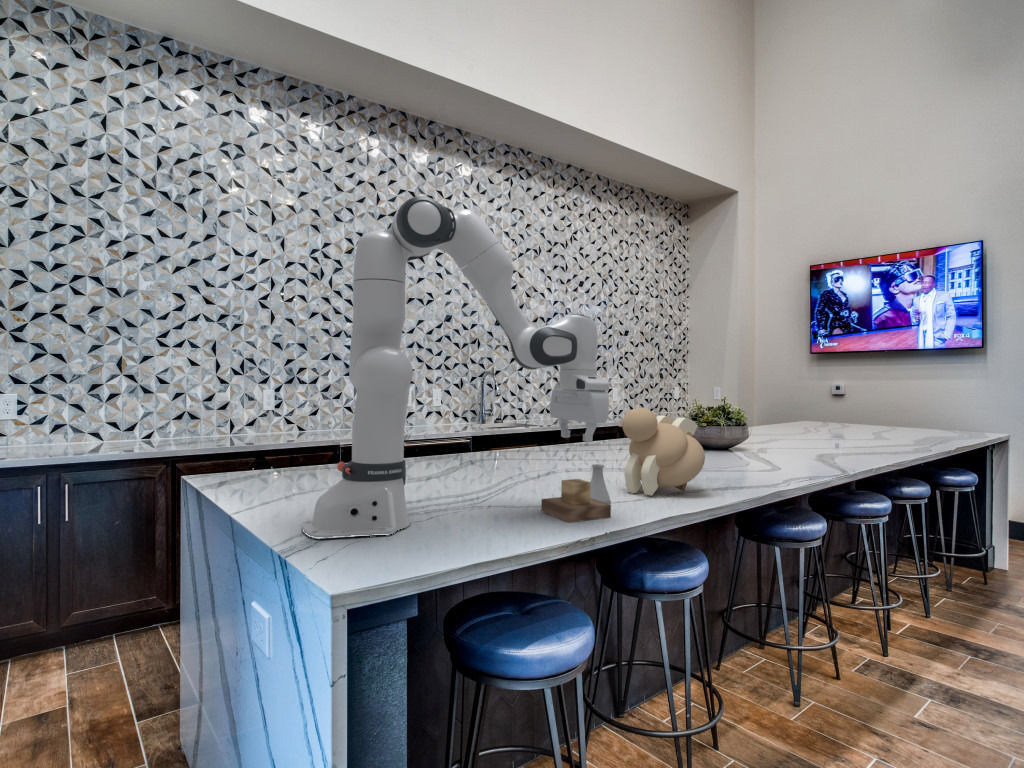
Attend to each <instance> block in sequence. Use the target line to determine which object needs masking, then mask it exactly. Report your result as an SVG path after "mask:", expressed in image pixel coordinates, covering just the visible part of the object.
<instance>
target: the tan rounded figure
mask: <svg viewBox="0 0 1024 768" xmlns="http://www.w3.org/2000/svg"><path fill="white" fill-rule="evenodd" d="M623 414H624V418H622V417H621V418H620V417H619V418H618V420H617V426H618V427H620V428H621V427H622V430H623V431H622V432H624V435H625V436H626V437H627V438H628V439H629V440H630V443H629V446H628V451H629V455H630V456H629V458H628V460H627V461H626V464H625V468H624V481H625V487H626V490H627V493H628V492H630V493H629V494H631V493H636V494H637V492H638V491H639V490H640V488H641V487H642V491H643V494H644V495H647V496H653V495H654V493H656V491H657V489H658V488H663V489H670V488H674V489H677V490H680V491H683V492H685V491H686V487H687V486H688V485H687V484H688V483H690V482H691V481H692V480H694V479H695V478H696V477H697V476H698V475H699V474H700V473H701V471H702V469H703V468H704V465H705V460H706V454H705V450H704V448H703V446H702V445H701V443H700V442H699V441H698V439H696V438H695V437H693V436H694V435H695V433H696V431H697V429H698V427H699V425H698V423H696V421H694V420H692V419H691V418H689V417H688V418H687V417H677V418H676V419H675V418H673V417H672V416H668V415H657V416H656V414H655V413H654V412H653V411H652V410H650V409H648V408H646V407H636V408H635V407H634V408H633V409H631V410H629V408H628V407H625V408H624V409H623Z"/></svg>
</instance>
